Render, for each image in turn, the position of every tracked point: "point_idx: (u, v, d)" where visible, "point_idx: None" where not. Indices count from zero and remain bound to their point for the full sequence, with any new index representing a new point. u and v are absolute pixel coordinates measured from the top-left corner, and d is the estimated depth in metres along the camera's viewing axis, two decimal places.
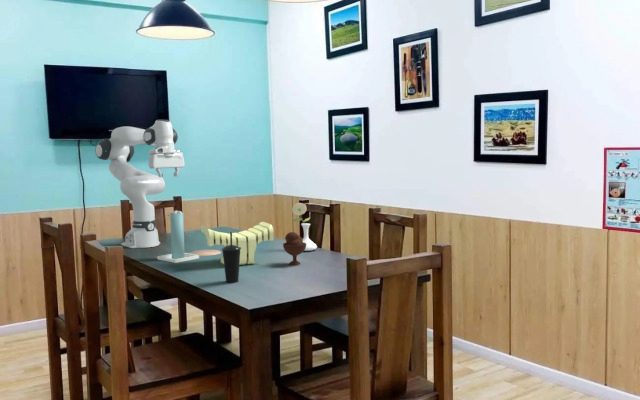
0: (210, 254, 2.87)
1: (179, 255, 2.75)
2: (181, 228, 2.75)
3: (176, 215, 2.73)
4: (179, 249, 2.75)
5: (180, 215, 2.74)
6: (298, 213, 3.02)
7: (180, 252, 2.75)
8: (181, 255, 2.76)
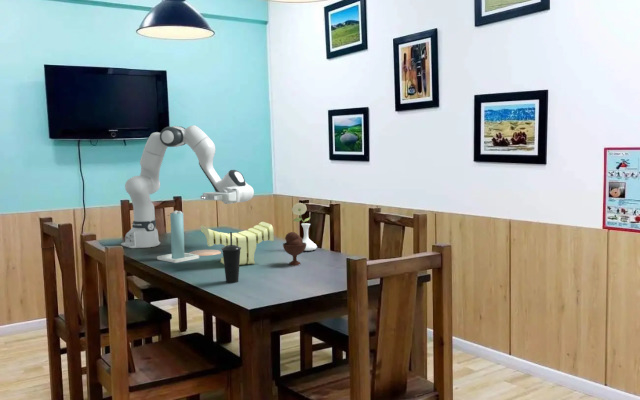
0: (210, 254, 2.87)
1: (179, 255, 2.75)
2: (181, 228, 2.75)
3: (176, 215, 2.73)
4: (179, 249, 2.75)
5: (180, 215, 2.74)
6: (298, 213, 3.02)
7: (180, 252, 2.75)
8: (181, 255, 2.76)
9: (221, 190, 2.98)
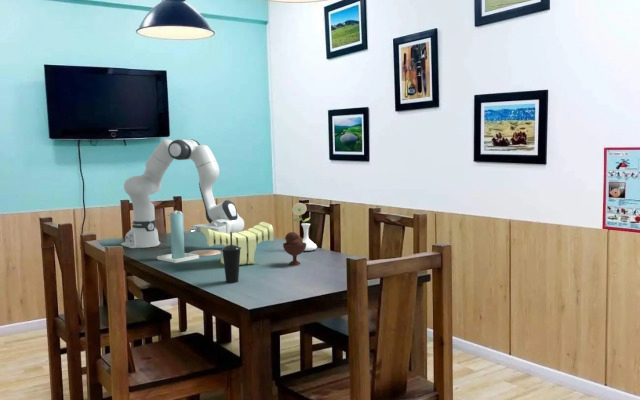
0: (210, 254, 2.87)
1: (179, 255, 2.75)
2: (181, 228, 2.75)
3: (176, 215, 2.73)
4: (179, 249, 2.75)
5: (180, 215, 2.74)
6: (298, 213, 3.02)
7: (180, 252, 2.75)
8: (181, 255, 2.76)
9: (211, 223, 2.94)
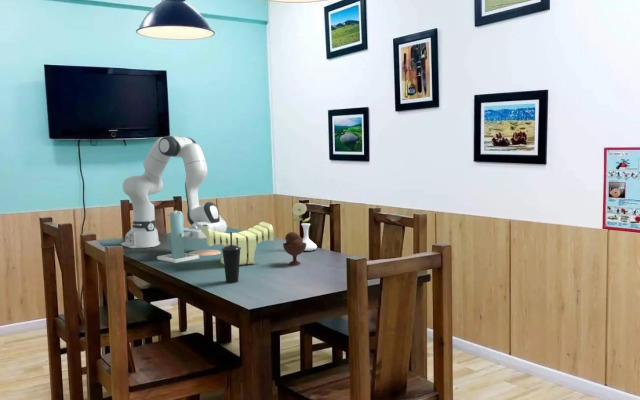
0: (210, 254, 2.87)
1: (179, 255, 2.75)
2: (181, 228, 2.75)
3: (176, 215, 2.73)
4: (179, 249, 2.75)
5: (180, 215, 2.74)
6: (298, 213, 3.02)
7: (180, 252, 2.75)
8: (181, 255, 2.76)
9: (191, 226, 2.85)
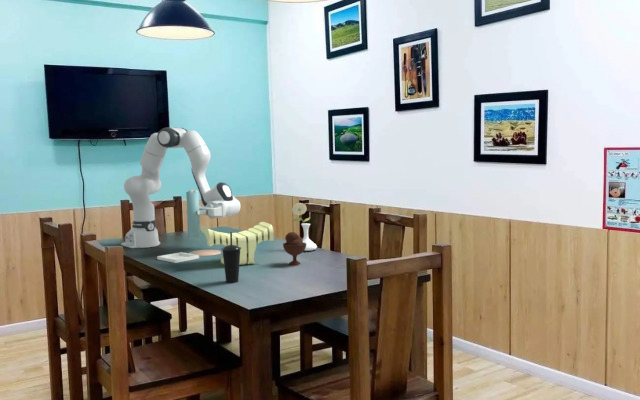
0: (210, 254, 2.87)
1: (195, 232, 2.83)
2: (197, 206, 2.83)
3: (192, 194, 2.81)
4: (195, 227, 2.83)
5: (196, 194, 2.82)
6: (298, 213, 3.02)
7: (196, 230, 2.83)
8: (197, 233, 2.84)
9: (207, 204, 2.93)
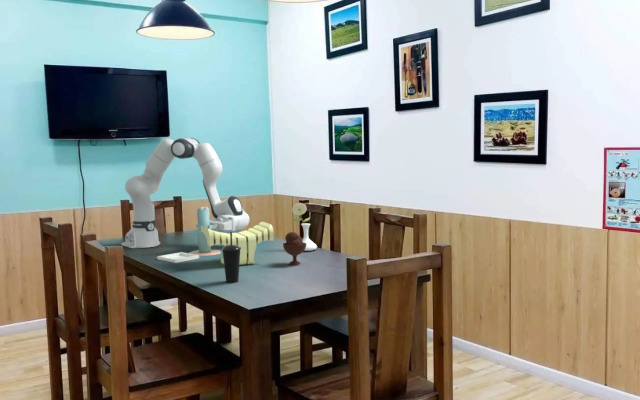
0: (210, 254, 2.87)
1: (206, 249, 2.90)
2: (207, 223, 2.90)
3: (203, 211, 2.88)
4: (206, 243, 2.90)
5: (206, 211, 2.89)
6: (298, 213, 3.02)
7: (207, 246, 2.90)
8: (208, 249, 2.91)
9: (217, 218, 3.00)
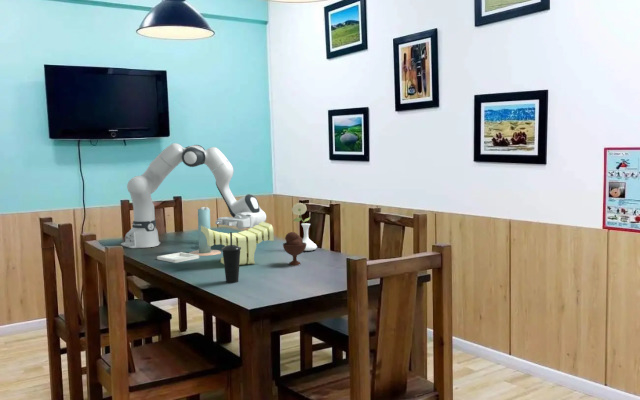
0: (210, 254, 2.87)
1: (206, 249, 2.90)
2: (208, 223, 2.90)
3: (203, 211, 2.88)
4: (206, 243, 2.90)
5: (207, 211, 2.89)
6: (298, 213, 3.02)
7: (207, 246, 2.90)
8: (208, 249, 2.91)
9: (235, 216, 3.09)
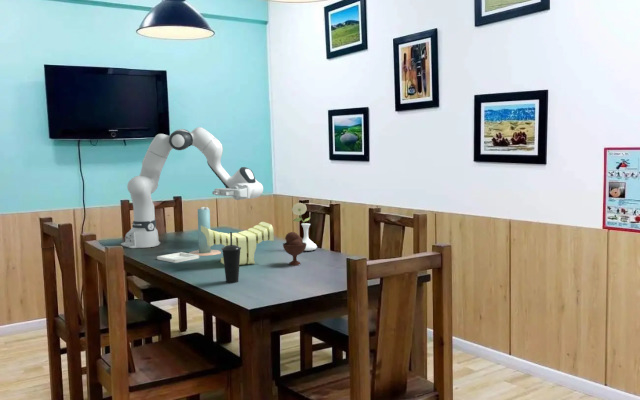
0: (210, 254, 2.87)
1: (206, 249, 2.90)
2: (208, 223, 2.90)
3: (203, 211, 2.88)
4: (206, 243, 2.90)
5: (207, 211, 2.89)
6: (298, 213, 3.02)
7: (207, 246, 2.90)
8: (208, 249, 2.91)
9: (232, 186, 3.10)
